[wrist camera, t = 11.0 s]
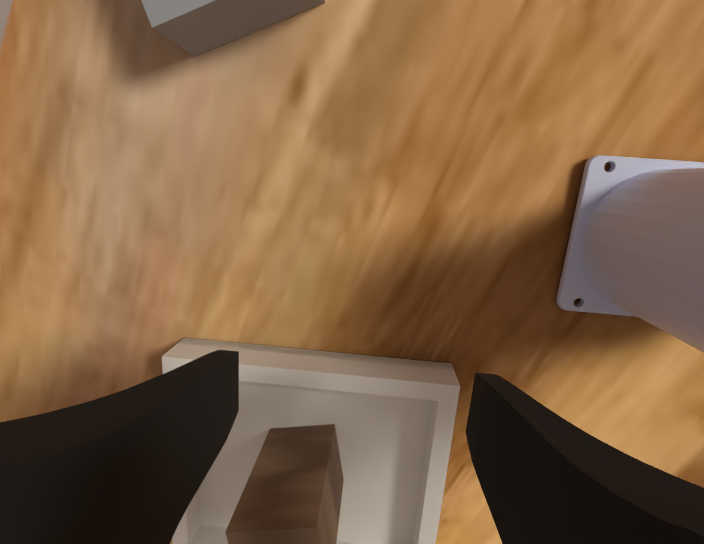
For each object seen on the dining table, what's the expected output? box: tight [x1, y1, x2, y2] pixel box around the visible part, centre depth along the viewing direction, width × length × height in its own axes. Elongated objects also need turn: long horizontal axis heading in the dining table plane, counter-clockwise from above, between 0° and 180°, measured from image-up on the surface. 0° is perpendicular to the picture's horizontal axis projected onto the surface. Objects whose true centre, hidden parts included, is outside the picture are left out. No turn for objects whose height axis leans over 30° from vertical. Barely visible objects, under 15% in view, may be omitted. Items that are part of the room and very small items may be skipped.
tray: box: [162, 338, 460, 544], centre depth 23 cm, size 16×14×2 cm
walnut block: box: [225, 424, 344, 544], centre depth 20 cm, size 4×4×7 cm
